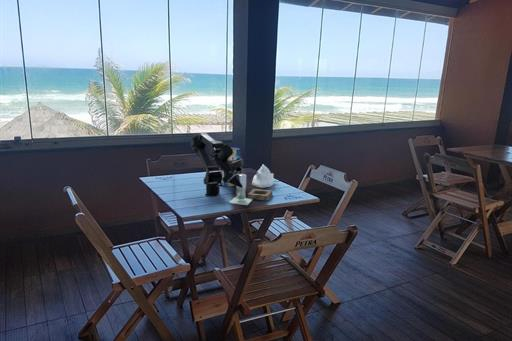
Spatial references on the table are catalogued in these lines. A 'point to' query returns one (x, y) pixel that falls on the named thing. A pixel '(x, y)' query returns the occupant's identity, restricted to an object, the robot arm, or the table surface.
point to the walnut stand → (260, 194)
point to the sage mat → (240, 201)
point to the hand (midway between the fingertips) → (243, 186)
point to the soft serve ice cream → (263, 177)
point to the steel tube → (242, 191)
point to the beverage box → (232, 158)
